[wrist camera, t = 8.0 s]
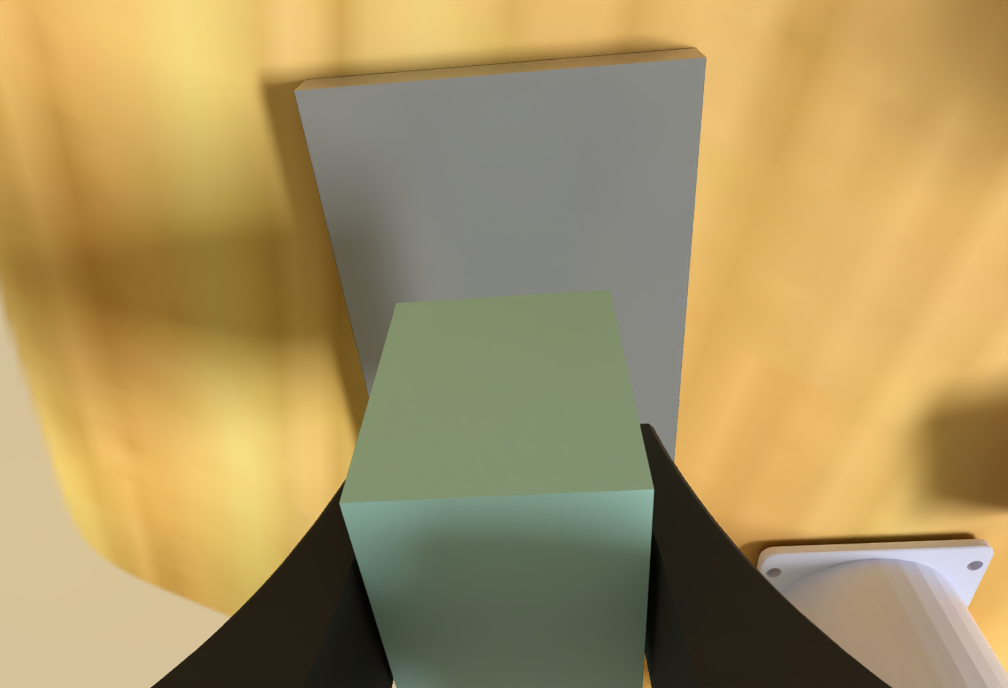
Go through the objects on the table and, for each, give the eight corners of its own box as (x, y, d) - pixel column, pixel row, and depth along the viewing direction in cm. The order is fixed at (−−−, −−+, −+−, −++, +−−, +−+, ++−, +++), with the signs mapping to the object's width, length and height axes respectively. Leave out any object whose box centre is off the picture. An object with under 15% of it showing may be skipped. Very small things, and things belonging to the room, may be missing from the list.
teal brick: (608, 512, 16) (639, 732, 12) (439, 519, 16) (412, 738, 12) (609, 289, 13) (653, 489, 9) (396, 303, 13) (339, 503, 9)
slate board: (667, 443, 22) (673, 465, 21) (393, 456, 23) (388, 478, 22) (696, 47, 15) (705, 57, 15) (305, 79, 16) (294, 90, 15)
